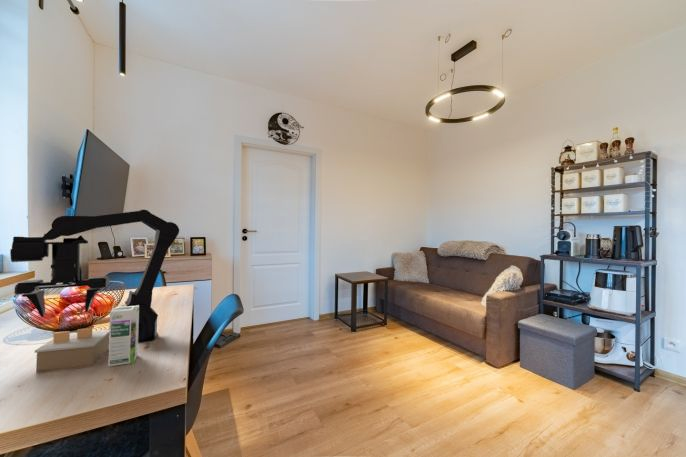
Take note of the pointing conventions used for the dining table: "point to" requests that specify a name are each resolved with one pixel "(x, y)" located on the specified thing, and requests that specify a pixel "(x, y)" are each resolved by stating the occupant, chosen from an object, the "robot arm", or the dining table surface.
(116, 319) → the syrup box
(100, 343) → the carton
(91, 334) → the right cover
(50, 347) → the left cover
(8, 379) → the dining table surface
